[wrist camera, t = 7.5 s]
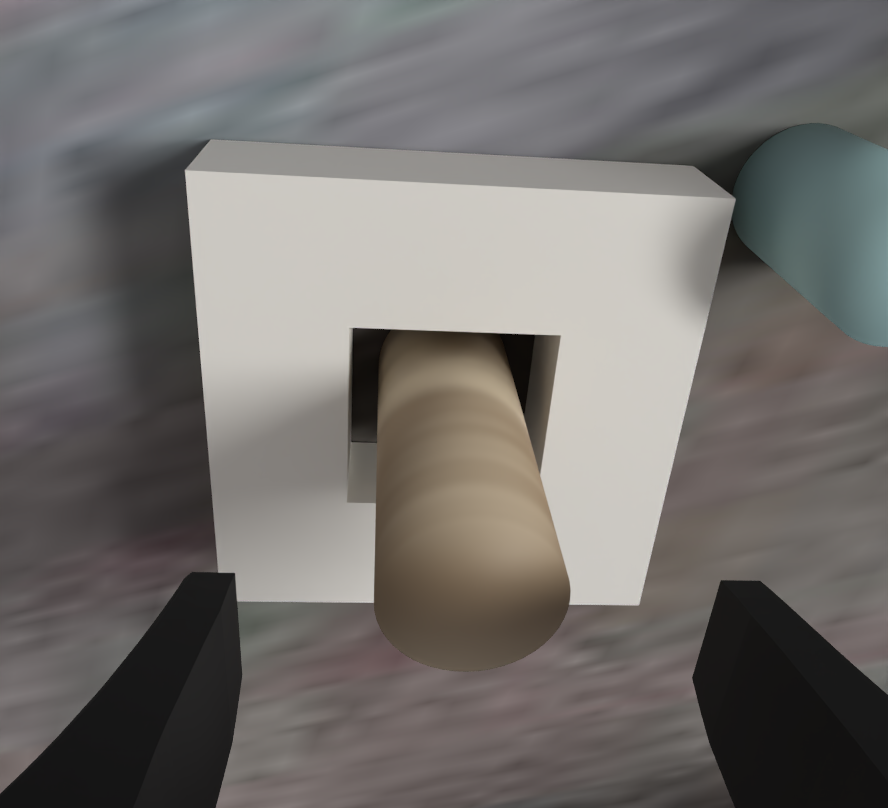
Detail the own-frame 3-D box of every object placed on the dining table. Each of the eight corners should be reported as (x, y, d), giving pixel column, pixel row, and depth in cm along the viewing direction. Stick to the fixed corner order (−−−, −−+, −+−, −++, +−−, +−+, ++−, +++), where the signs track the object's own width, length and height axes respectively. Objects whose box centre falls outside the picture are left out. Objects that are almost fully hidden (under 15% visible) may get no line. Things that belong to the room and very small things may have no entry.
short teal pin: (845, 263, 19) (963, 349, 15) (717, 257, 19) (803, 343, 15) (887, 127, 18) (1029, 184, 14) (749, 118, 17) (854, 174, 13)
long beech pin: (501, 420, 21) (558, 670, 14) (378, 419, 20) (373, 672, 13) (511, 306, 19) (582, 522, 12) (379, 303, 19) (374, 521, 12)
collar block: (614, 540, 23) (638, 605, 20) (237, 534, 22) (220, 600, 20) (693, 165, 18) (736, 198, 16) (211, 139, 17) (184, 170, 15)
